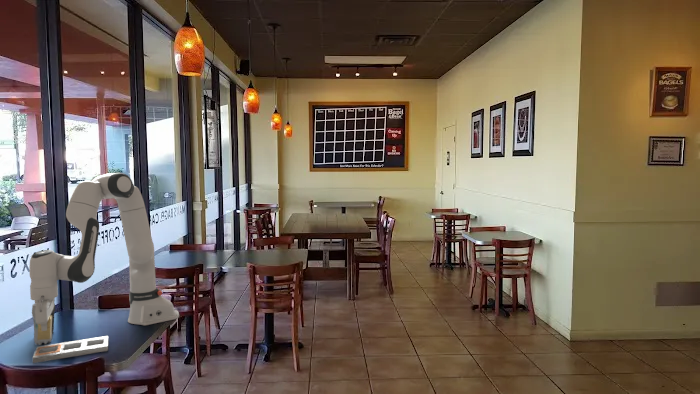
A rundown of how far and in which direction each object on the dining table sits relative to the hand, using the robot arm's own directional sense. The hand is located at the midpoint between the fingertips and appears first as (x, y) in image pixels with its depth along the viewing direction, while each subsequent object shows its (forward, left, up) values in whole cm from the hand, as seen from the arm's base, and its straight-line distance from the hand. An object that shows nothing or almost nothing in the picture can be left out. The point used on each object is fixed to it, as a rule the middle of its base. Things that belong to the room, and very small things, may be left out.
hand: (45, 328), depth 183 cm
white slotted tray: (-9, 0, -11) cm, 14 cm away
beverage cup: (+3, -27, -11) cm, 29 cm away
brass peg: (+1, 0, -4) cm, 4 cm away
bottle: (+3, -15, -11) cm, 19 cm away
